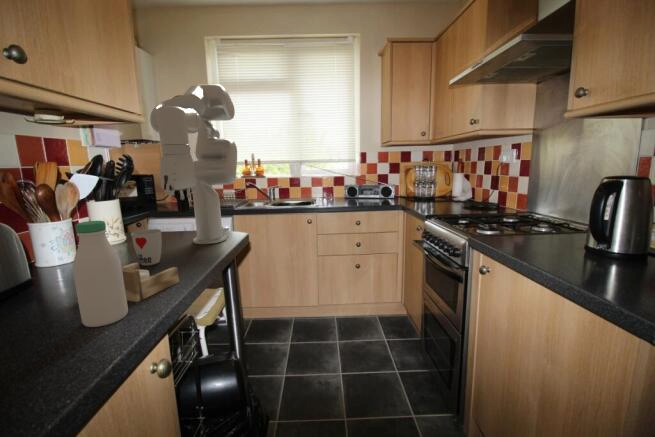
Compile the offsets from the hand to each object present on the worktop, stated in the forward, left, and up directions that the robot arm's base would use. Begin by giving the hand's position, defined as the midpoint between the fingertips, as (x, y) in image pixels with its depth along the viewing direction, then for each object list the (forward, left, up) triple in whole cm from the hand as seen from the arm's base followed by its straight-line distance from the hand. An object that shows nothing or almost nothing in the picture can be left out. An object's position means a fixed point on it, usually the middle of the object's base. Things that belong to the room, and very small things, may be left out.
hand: (184, 211), depth 96 cm
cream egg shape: (+22, +3, -16) cm, 27 cm away
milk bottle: (+35, +11, -16) cm, 40 cm away
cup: (+5, -11, -16) cm, 20 cm away
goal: (+21, +3, -16) cm, 27 cm away
